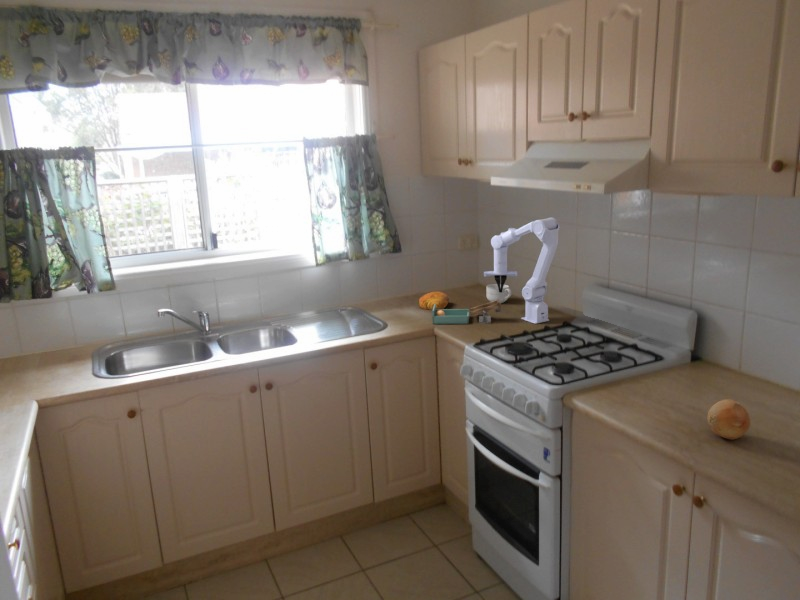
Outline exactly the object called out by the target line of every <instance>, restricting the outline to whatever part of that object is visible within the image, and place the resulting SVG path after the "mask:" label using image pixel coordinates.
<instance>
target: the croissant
mask: <svg viewBox="0 0 800 600" xmlns="http://www.w3.org/2000/svg"><path fill="white" fill-rule="evenodd" d="M449 302H450V296H449V295H448V294H446V293H444V292H443V291H431V292H429V293H426V294H425V293H424V294H423V295H422V296H421V297H419V299H418V303H419V307H420V308H421V309H423V310H430V311H432V310H433V307H434V304H436V309H445V308H446V307H447V306H448V303H449Z"/></svg>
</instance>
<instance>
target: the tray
mask: <svg viewBox="0 0 800 600" xmlns="http://www.w3.org/2000/svg"><path fill="white" fill-rule="evenodd" d="M439 310H442V311H444V313H445V316H436V313H437V311H439ZM431 312H432V315H431V316H432V325H469V321H470V308H463V309H462V308H451V309H450V308H449V309H448V308H446V309H445V308H443V309H436V304H434V307H433V310H431Z"/></svg>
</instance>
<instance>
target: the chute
mask: <svg viewBox="0 0 800 600" xmlns="http://www.w3.org/2000/svg"><path fill="white" fill-rule="evenodd" d="M469 310H470V311H469V315H470V316H471V318H472V317H475V316H478V315H479V316H480V315H483V311H486V312H487V313H489V312H493V311H494V312H495V313H496V314H497V313H500V312H502V303H500V301H499V299H497V301H493V302H490V301H489V302H487V303H484V304H481V305H477V306H474V307H471V308H469Z"/></svg>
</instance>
